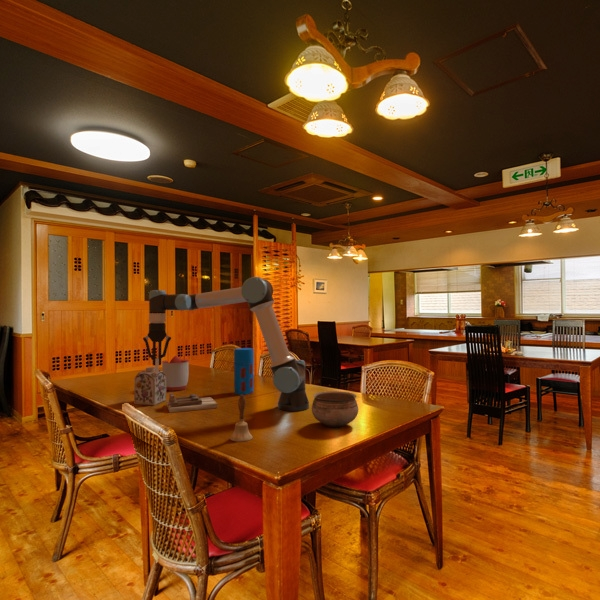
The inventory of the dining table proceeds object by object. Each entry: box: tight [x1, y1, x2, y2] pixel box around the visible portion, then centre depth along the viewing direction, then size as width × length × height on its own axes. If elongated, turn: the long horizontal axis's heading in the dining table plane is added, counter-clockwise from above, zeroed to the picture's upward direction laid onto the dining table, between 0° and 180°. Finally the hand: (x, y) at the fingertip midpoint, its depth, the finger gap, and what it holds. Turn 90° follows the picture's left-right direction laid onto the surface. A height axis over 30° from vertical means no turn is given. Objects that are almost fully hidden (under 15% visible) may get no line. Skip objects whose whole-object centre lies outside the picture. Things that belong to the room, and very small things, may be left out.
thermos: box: [233, 347, 254, 396], centre depth 227 cm, size 11×11×25 cm
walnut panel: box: [168, 392, 202, 407], centre depth 194 cm, size 12×14×4 cm
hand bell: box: [229, 395, 254, 443], centre depth 147 cm, size 8×8×16 cm
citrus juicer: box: [161, 355, 190, 392], centre depth 239 cm, size 16×17×20 cm
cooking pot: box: [311, 390, 359, 429], centre depth 162 cm, size 25×19×12 cm
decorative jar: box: [133, 366, 167, 406], centre depth 205 cm, size 12×12×18 cm
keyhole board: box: [166, 393, 218, 414], centre depth 195 cm, size 16×22×5 cm
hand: (156, 372), depth 189 cm, fingers closed
